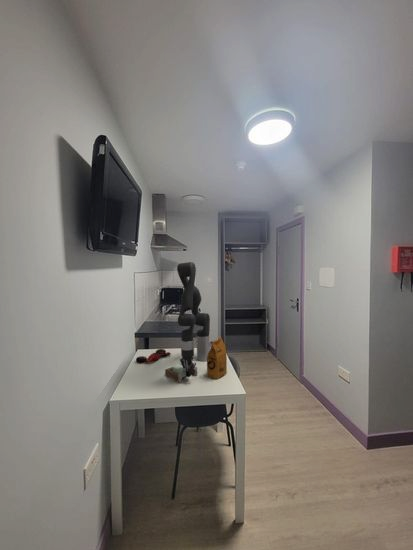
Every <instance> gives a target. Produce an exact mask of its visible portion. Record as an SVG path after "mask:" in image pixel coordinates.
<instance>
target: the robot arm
mask: <svg viewBox="0 0 413 550" xmlns="http://www.w3.org/2000/svg"><path fill="white" fill-rule="evenodd" d="M176 272H177V274H178V275H177V276H178V277H179V279H180V282H181V284H182V286H183V289H184V290H183V292H182V293H181V297H180V298H181V299H180V311H179V315H178V317H177V325H178V326H180V327H188V328H187V329H183V330H181V332H180V333H181V334H180V335H181V336H180V337H181V339H180V340H181V343H180V349H181V350H180V352H181V353H180V355H181V357H182V358H180V359H179V361H180V364H182V366H183V368H185V370H186V376H185V377H186V378H190V377H191V375H192V374H191V370H193V369H194V367H197V362H194V356H195V347H194V346H195V344H194V328H195V326H197V327H202V329H199V330H197V331H196V359H197V360H198V361H200V362H207V355H208V353H209V351H210V349H211V346H212V345H211V343H210V331H211V330H210V328H211V327H210V325H211V324H210V323H211V319H210V314H209V313H208V312H207V313H205V312H199V306H200V305H201V303H202V296H201V293H200V290H199V288H197V286H196V285H195V282H196V273H197V268H196V265H195V262H193V261H190V262H189V261H188V262H181V263H178V264H177V266H176ZM188 311H191V313H186V312H188Z"/></svg>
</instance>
